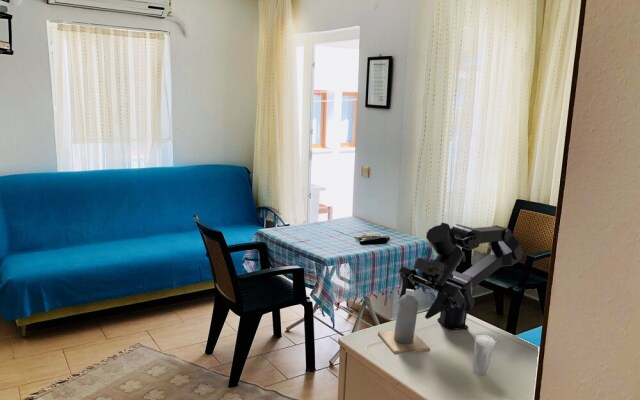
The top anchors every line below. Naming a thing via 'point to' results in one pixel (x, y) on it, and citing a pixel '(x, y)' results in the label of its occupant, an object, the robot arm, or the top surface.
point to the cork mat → (399, 348)
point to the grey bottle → (406, 318)
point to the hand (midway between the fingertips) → (412, 311)
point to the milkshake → (483, 353)
